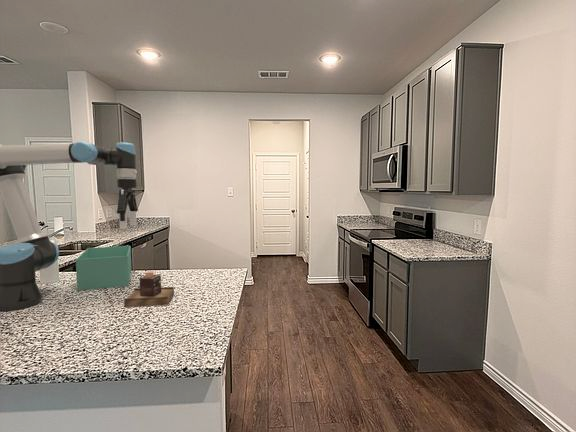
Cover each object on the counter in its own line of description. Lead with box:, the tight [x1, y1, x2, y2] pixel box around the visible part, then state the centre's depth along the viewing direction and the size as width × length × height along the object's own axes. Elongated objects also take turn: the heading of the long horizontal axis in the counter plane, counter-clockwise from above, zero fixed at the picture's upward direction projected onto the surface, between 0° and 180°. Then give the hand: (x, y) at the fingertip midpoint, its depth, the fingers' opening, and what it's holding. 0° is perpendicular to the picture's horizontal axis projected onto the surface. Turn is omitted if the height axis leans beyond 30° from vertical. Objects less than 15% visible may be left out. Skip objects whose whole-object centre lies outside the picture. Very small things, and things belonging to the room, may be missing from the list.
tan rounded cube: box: [144, 270, 155, 278], centre depth 133 cm, size 3×3×2 cm
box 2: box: [139, 274, 162, 296], centre depth 134 cm, size 6×6×7 cm
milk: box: [39, 236, 60, 285], centre depth 159 cm, size 6×6×22 cm
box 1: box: [75, 245, 132, 292], centre depth 164 cm, size 21×32×14 cm, turn 23°
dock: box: [123, 286, 175, 308], centre depth 134 cm, size 16×14×3 cm
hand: (128, 227), depth 145 cm, fingers open, 13 cm apart
